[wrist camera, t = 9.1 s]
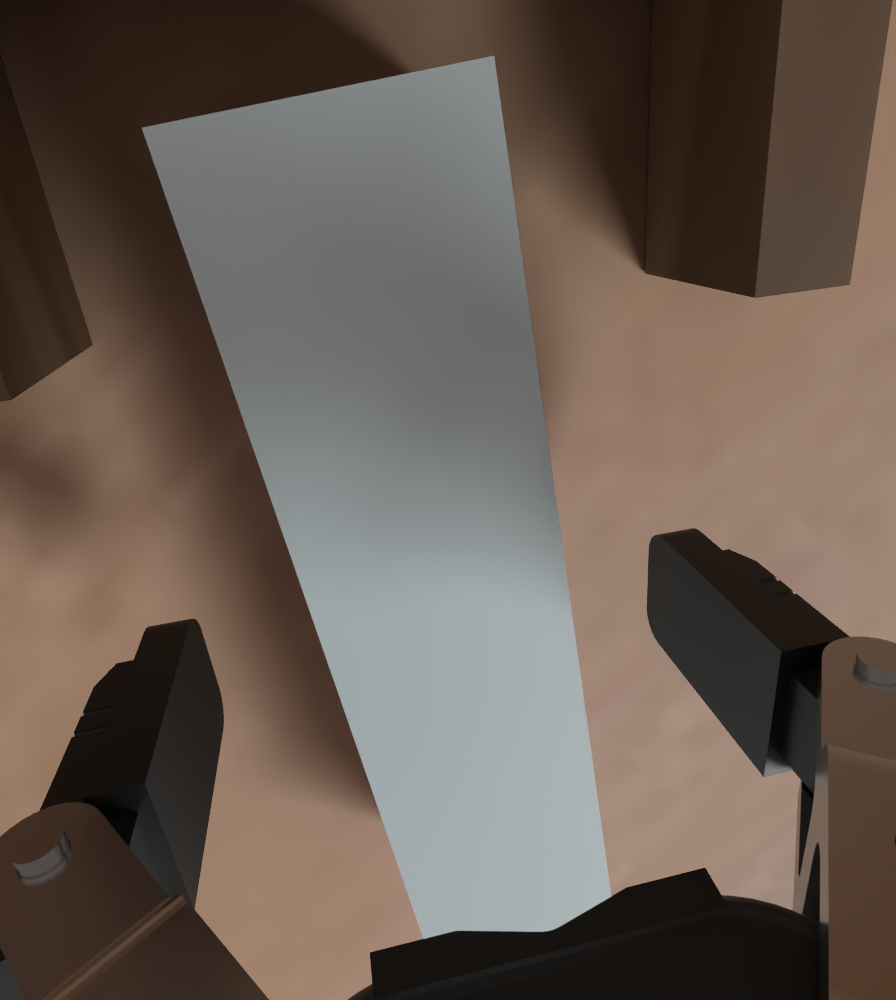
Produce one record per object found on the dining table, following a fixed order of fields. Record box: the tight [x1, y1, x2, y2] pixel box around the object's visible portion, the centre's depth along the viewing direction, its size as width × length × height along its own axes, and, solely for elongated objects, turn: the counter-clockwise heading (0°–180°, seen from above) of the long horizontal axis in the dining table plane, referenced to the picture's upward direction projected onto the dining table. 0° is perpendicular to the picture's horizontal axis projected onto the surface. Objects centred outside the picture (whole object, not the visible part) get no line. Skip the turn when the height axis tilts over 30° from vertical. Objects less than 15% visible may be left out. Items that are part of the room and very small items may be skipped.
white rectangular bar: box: [142, 56, 611, 939], centre depth 13 cm, size 4×16×4 cm, turn 11°
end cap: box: [0, 0, 892, 401], centre depth 9 cm, size 13×6×4 cm, turn 95°
